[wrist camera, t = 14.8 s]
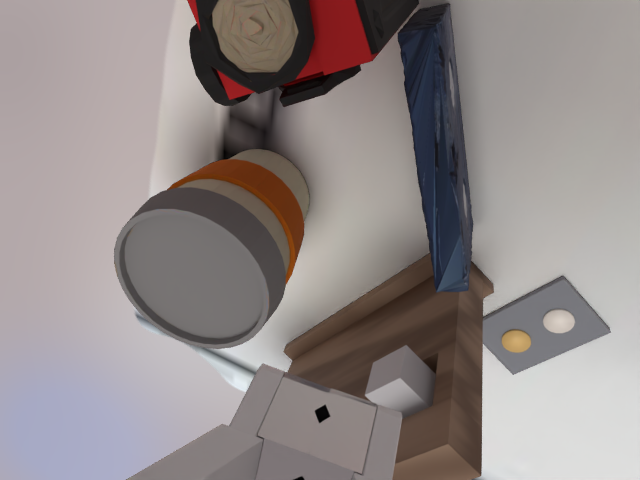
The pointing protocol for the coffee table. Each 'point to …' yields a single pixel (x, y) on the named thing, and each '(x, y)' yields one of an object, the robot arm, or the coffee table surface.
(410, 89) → the vhs cassette tape
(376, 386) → the off-white rectangular block
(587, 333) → the card
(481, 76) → the coffee table surface
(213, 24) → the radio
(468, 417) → the panel
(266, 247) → the reusable coffee cup
